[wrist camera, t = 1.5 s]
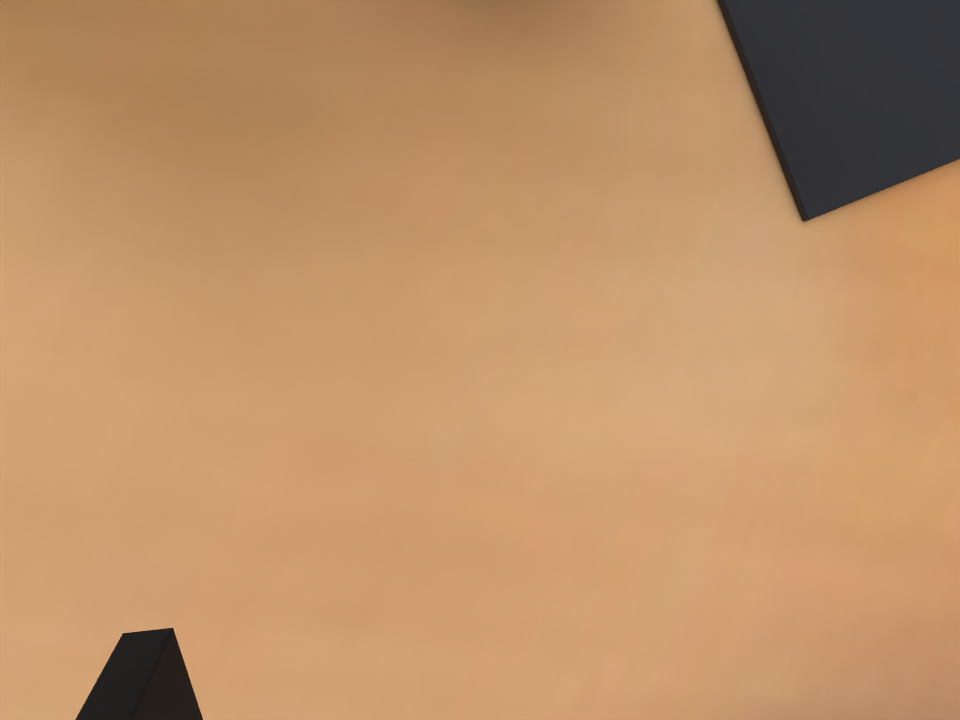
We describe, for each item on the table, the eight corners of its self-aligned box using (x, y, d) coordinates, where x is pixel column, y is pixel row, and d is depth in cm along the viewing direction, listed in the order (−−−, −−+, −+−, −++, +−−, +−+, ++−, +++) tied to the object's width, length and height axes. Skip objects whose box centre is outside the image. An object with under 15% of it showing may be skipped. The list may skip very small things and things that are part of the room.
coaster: (710, -15, 34) (715, -22, 34) (936, -101, 35) (945, -109, 34) (802, 222, 35) (809, 219, 34) (1024, 132, 35) (1034, 128, 35)
